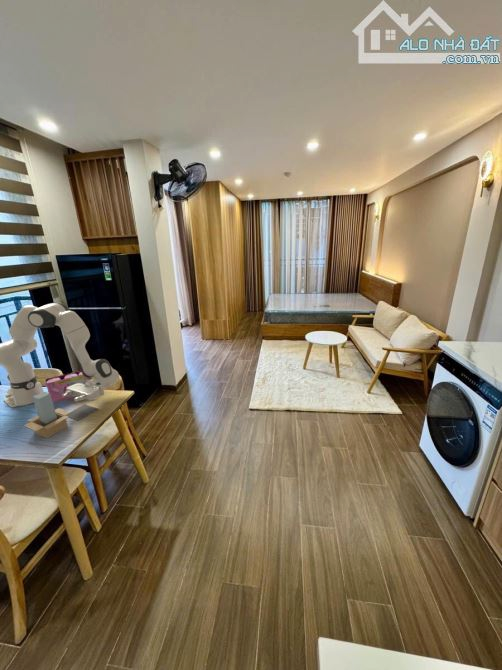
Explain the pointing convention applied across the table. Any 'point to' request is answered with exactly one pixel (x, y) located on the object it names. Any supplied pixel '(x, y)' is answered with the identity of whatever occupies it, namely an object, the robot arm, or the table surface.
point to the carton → (51, 427)
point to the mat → (82, 412)
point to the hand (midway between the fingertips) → (68, 398)
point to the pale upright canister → (45, 408)
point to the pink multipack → (64, 384)
